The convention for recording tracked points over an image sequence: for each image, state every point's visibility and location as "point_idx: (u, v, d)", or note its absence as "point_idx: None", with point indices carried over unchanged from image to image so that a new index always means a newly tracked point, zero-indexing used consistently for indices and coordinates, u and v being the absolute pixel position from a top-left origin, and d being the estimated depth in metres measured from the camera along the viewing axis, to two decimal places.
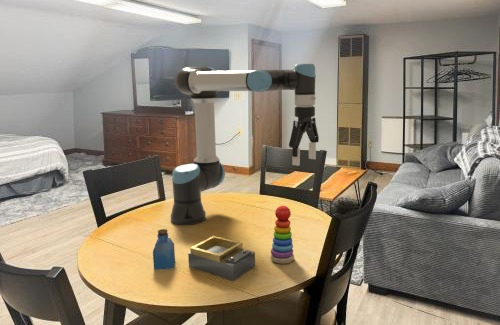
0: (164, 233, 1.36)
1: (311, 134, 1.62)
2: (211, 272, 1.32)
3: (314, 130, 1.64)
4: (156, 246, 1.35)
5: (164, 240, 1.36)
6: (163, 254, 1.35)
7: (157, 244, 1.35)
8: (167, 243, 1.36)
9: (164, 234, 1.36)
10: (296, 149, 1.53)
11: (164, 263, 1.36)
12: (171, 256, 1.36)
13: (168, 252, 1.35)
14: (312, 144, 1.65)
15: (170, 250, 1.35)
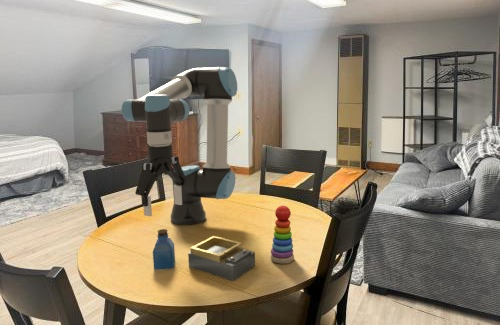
0: (164, 233, 1.36)
1: (173, 176, 1.37)
2: (211, 272, 1.32)
3: (178, 171, 1.39)
4: (156, 246, 1.35)
5: (164, 240, 1.36)
6: (163, 254, 1.35)
7: (157, 244, 1.35)
8: (167, 243, 1.36)
9: (164, 234, 1.36)
10: (145, 197, 1.28)
11: (164, 263, 1.36)
12: (171, 256, 1.36)
13: (168, 252, 1.35)
14: (177, 187, 1.39)
15: (170, 250, 1.35)
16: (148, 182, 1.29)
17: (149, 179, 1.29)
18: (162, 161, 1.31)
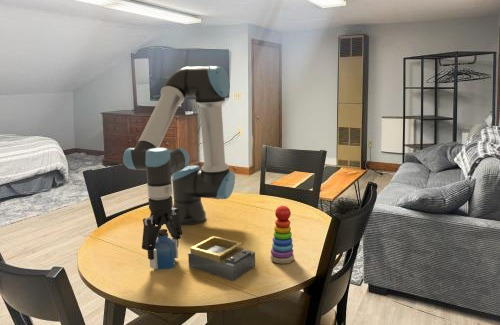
0: (164, 233, 1.36)
1: (171, 228, 1.39)
2: (211, 272, 1.32)
3: (176, 223, 1.41)
4: (156, 246, 1.35)
5: (164, 240, 1.36)
6: (163, 254, 1.35)
7: (157, 244, 1.35)
8: (167, 243, 1.36)
9: (164, 234, 1.36)
10: (151, 251, 1.33)
11: (164, 263, 1.36)
12: (171, 256, 1.36)
13: (168, 252, 1.35)
14: (173, 241, 1.41)
15: (170, 250, 1.35)
16: (152, 236, 1.33)
17: (152, 233, 1.33)
18: (162, 213, 1.34)
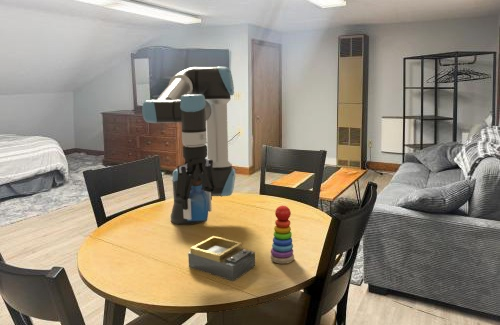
0: (198, 183, 1.31)
1: (204, 179, 1.34)
2: (211, 272, 1.32)
3: (210, 175, 1.37)
4: (190, 196, 1.31)
5: (198, 190, 1.32)
6: (197, 204, 1.31)
7: (191, 194, 1.31)
8: (201, 193, 1.31)
9: (198, 184, 1.31)
10: (185, 201, 1.29)
11: (198, 214, 1.31)
12: (205, 207, 1.31)
13: (202, 203, 1.31)
14: None
15: (204, 200, 1.31)
16: (186, 185, 1.29)
17: (186, 182, 1.29)
18: (197, 162, 1.30)
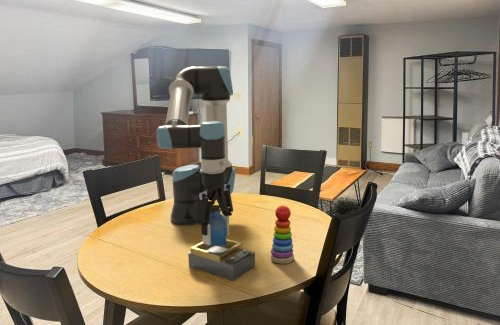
0: (217, 208, 1.33)
1: (223, 204, 1.36)
2: (211, 272, 1.32)
3: (227, 199, 1.38)
4: (209, 222, 1.32)
5: (217, 216, 1.33)
6: (216, 230, 1.32)
7: (210, 220, 1.33)
8: (220, 219, 1.33)
9: (217, 209, 1.33)
10: (205, 226, 1.30)
11: (217, 239, 1.33)
12: (224, 232, 1.33)
13: (222, 228, 1.32)
14: (224, 218, 1.38)
15: (223, 226, 1.32)
16: (206, 211, 1.30)
17: (206, 208, 1.31)
18: (216, 187, 1.32)
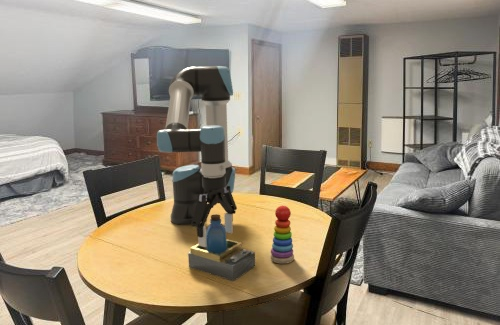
0: (217, 218, 1.34)
1: (225, 205, 1.37)
2: (211, 272, 1.32)
3: (230, 200, 1.39)
4: (209, 231, 1.33)
5: (217, 225, 1.34)
6: (217, 239, 1.33)
7: (210, 229, 1.33)
8: (220, 228, 1.34)
9: (217, 219, 1.34)
10: (201, 228, 1.28)
11: (217, 249, 1.34)
12: (225, 241, 1.34)
13: (222, 238, 1.33)
14: (228, 216, 1.40)
15: (224, 235, 1.33)
16: (203, 213, 1.29)
17: (204, 210, 1.30)
18: (216, 191, 1.32)
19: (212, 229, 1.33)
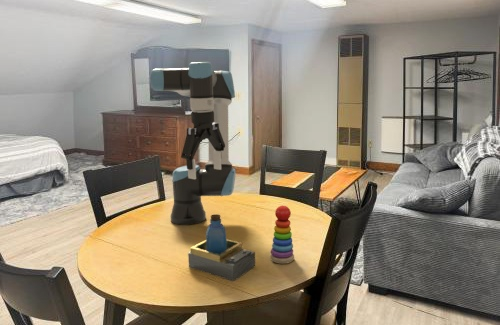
0: (217, 218, 1.34)
1: (214, 141, 1.42)
2: (211, 272, 1.32)
3: (218, 137, 1.45)
4: (209, 231, 1.33)
5: (217, 225, 1.34)
6: (217, 239, 1.33)
7: (210, 229, 1.33)
8: (220, 228, 1.34)
9: (217, 219, 1.34)
10: (190, 161, 1.34)
11: (217, 249, 1.34)
12: (225, 241, 1.34)
13: (222, 238, 1.33)
14: (216, 153, 1.45)
15: (224, 235, 1.33)
16: (192, 146, 1.34)
17: (193, 144, 1.35)
18: (205, 127, 1.37)
19: (212, 229, 1.33)
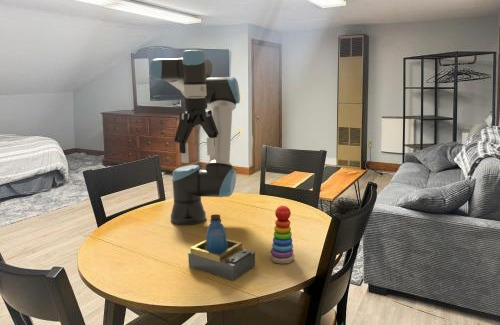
0: (217, 218, 1.34)
1: (207, 128, 1.47)
2: (211, 272, 1.32)
3: (211, 124, 1.50)
4: (209, 231, 1.33)
5: (217, 225, 1.34)
6: (217, 239, 1.33)
7: (210, 229, 1.33)
8: (220, 228, 1.34)
9: (217, 219, 1.34)
10: (183, 145, 1.39)
11: (217, 249, 1.34)
12: (225, 241, 1.34)
13: (222, 238, 1.33)
14: (210, 139, 1.50)
15: (224, 235, 1.33)
16: (185, 131, 1.40)
17: (186, 128, 1.40)
18: (198, 113, 1.42)
19: (212, 229, 1.33)
